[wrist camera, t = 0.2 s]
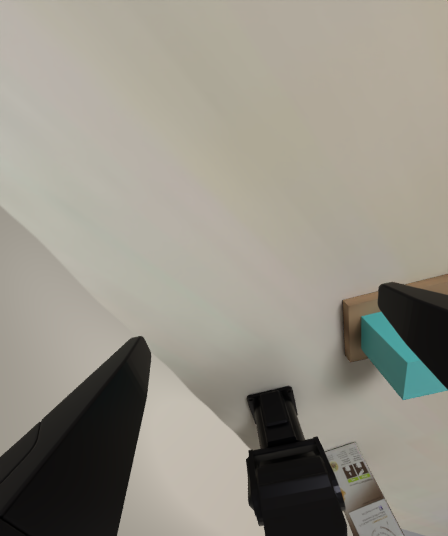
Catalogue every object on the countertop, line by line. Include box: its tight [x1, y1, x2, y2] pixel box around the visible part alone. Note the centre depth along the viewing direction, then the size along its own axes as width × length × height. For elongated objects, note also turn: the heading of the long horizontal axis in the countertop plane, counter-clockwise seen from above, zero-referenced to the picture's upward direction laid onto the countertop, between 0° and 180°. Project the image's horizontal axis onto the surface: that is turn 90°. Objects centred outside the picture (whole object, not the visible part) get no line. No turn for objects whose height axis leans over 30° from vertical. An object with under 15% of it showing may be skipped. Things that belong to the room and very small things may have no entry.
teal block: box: [361, 312, 447, 400], centre depth 23 cm, size 5×5×7 cm
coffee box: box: [325, 443, 404, 536], centre depth 34 cm, size 9×6×16 cm
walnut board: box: [343, 274, 448, 362], centre depth 27 cm, size 9×20×1 cm, turn 105°
